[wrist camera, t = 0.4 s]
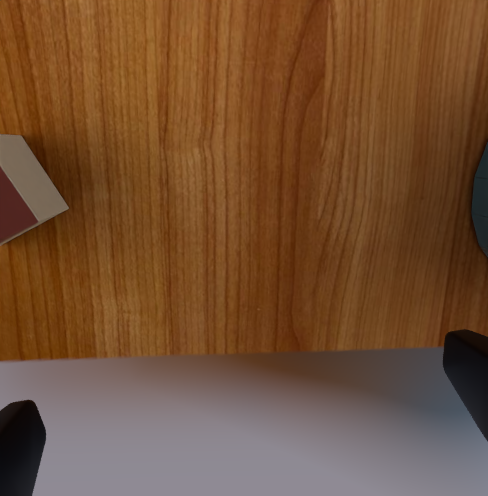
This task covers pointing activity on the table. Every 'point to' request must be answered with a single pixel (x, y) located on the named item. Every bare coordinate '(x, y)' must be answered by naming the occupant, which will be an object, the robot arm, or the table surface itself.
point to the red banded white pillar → (24, 190)
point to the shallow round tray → (481, 202)
